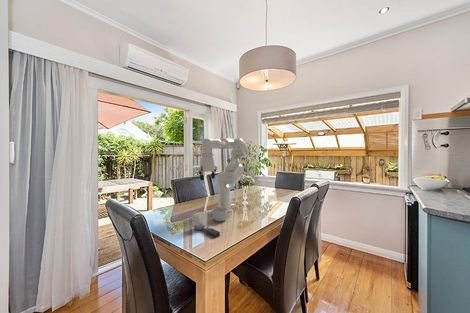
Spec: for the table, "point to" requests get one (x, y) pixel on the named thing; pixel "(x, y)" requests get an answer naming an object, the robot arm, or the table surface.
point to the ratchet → (208, 231)
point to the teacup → (219, 213)
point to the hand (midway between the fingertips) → (207, 179)
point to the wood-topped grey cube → (200, 219)
